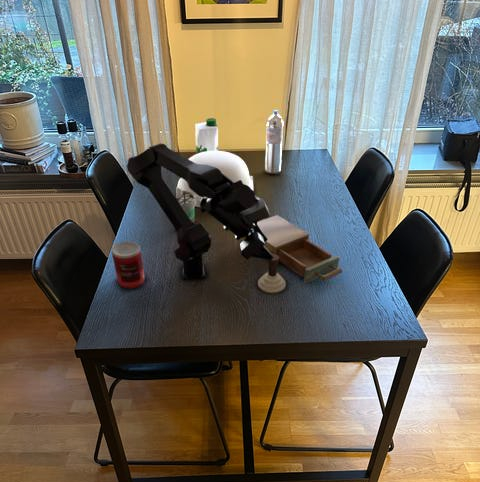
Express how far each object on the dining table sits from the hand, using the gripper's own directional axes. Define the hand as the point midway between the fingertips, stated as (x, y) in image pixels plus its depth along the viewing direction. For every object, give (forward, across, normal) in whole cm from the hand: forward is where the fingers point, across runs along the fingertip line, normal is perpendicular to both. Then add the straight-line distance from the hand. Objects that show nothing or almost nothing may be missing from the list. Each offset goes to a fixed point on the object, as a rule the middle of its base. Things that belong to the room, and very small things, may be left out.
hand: (269, 249), depth 122 cm
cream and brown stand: (+9, 0, +8) cm, 12 cm away
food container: (-10, +37, +20) cm, 43 cm away
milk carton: (0, +88, +17) cm, 89 cm away
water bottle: (+20, +80, -2) cm, 83 cm away
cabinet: (+13, +20, +4) cm, 24 cm away
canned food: (-19, +6, +36) cm, 41 cm away
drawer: (+18, +6, -2) cm, 19 cm away
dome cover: (+1, +64, +16) cm, 66 cm away
